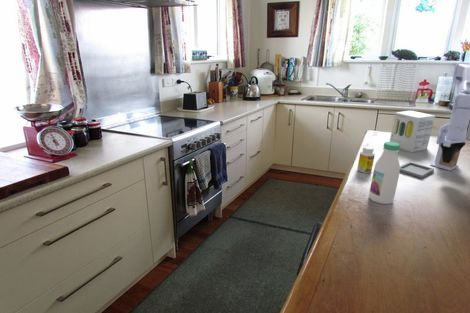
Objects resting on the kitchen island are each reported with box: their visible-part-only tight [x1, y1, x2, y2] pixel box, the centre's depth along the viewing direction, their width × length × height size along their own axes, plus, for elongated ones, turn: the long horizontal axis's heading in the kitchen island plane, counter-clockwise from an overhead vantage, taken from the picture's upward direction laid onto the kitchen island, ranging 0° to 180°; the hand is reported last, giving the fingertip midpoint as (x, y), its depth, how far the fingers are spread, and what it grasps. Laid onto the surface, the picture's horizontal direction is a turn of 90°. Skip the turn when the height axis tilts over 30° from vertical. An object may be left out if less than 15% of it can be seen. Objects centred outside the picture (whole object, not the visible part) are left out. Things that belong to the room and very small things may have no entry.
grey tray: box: [400, 161, 435, 180], centre depth 132 cm, size 12×10×2 cm
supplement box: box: [389, 110, 436, 153], centre depth 161 cm, size 13×13×18 cm
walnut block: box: [439, 150, 461, 168], centre depth 120 cm, size 4×4×6 cm
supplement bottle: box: [356, 145, 376, 174], centre depth 130 cm, size 6×6×10 cm
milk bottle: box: [368, 141, 401, 205], centre depth 104 cm, size 8×8×20 cm
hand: (448, 161), depth 121 cm, fingers closed on walnut block, 4 cm apart
